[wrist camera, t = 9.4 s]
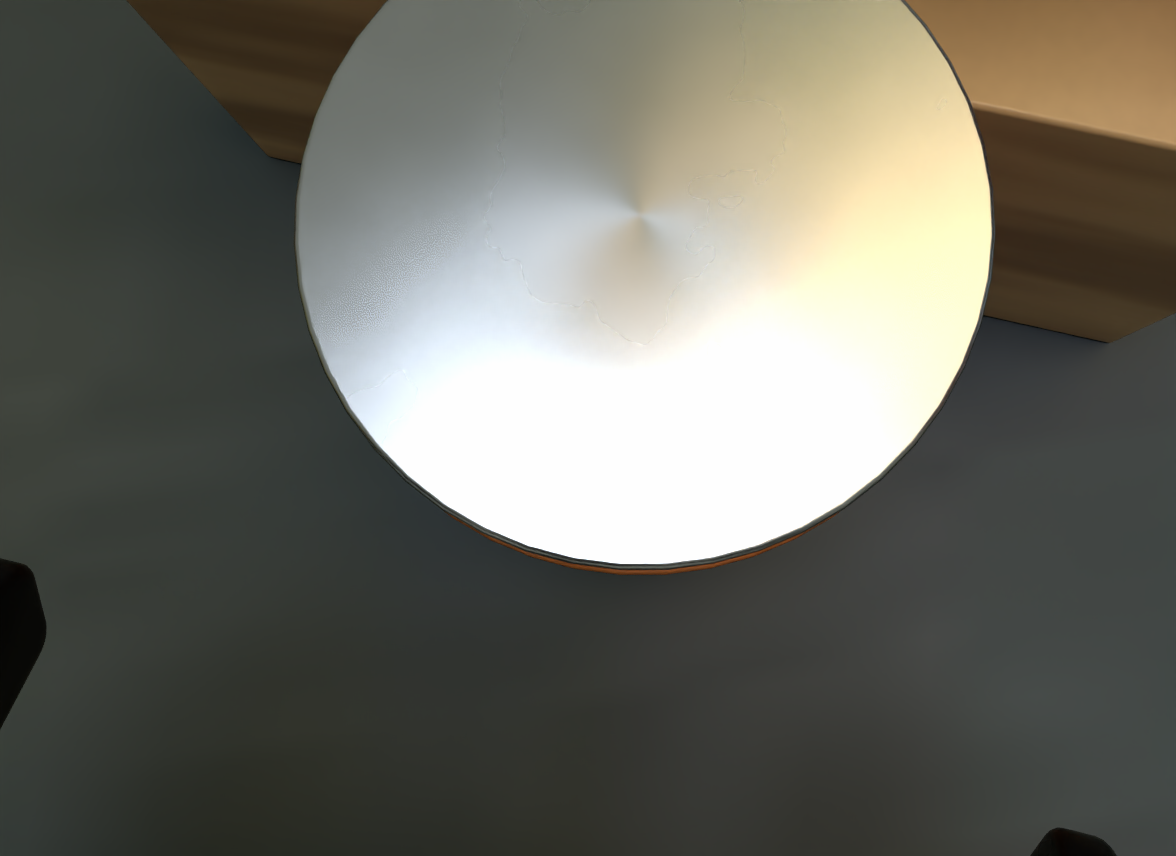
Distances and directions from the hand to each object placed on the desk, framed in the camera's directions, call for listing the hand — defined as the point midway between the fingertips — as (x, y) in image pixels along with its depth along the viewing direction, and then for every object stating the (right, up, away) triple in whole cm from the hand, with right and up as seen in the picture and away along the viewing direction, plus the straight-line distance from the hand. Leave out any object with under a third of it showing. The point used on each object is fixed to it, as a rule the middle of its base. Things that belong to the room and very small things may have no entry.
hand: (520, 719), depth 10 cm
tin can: (+2, +3, +13) cm, 14 cm away
